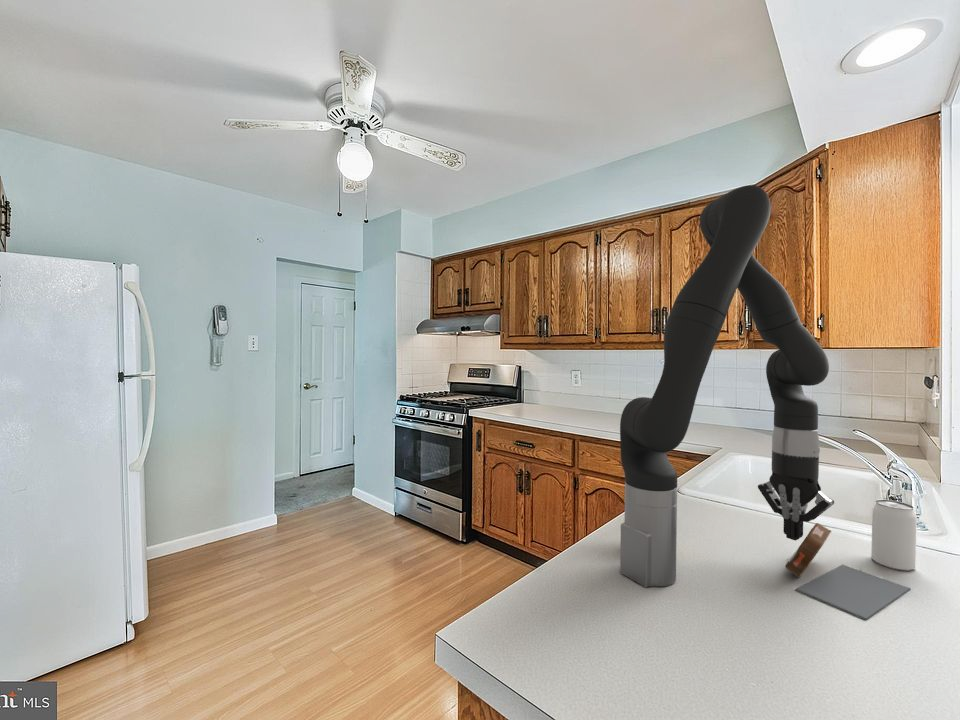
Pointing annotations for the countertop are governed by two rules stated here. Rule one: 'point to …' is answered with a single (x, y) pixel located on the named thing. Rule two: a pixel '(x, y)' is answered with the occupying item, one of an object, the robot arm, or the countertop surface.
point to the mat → (853, 591)
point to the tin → (807, 550)
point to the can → (894, 535)
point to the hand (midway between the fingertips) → (793, 538)
